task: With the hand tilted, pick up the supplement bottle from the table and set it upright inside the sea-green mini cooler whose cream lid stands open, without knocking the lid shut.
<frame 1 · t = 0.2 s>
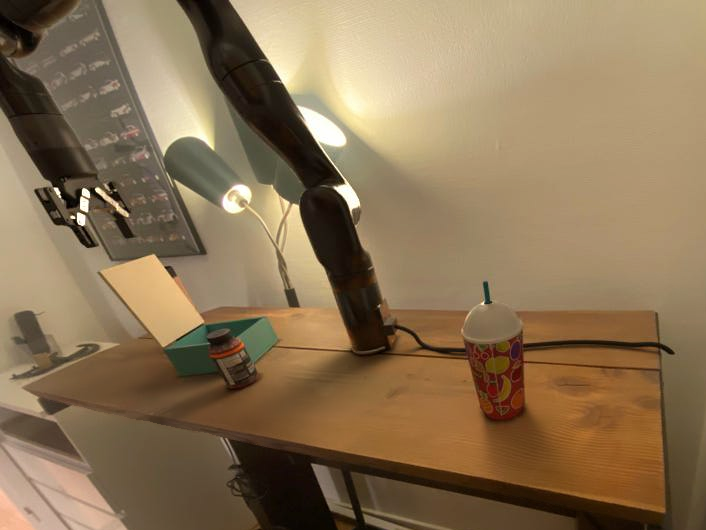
hand: (113, 242, 73), 29 cm above the table, tool pointing down, fingers open, 8 cm apart
cooler: (232, 357, 89), on the table
supplement bottle: (244, 382, 77), on the table
travel mug: (196, 342, 102), on the table
smoothie: (503, 409, 57), on the table
cooler lid: (149, 302, 83), point 16 cm above the table, hinge at 100.0°
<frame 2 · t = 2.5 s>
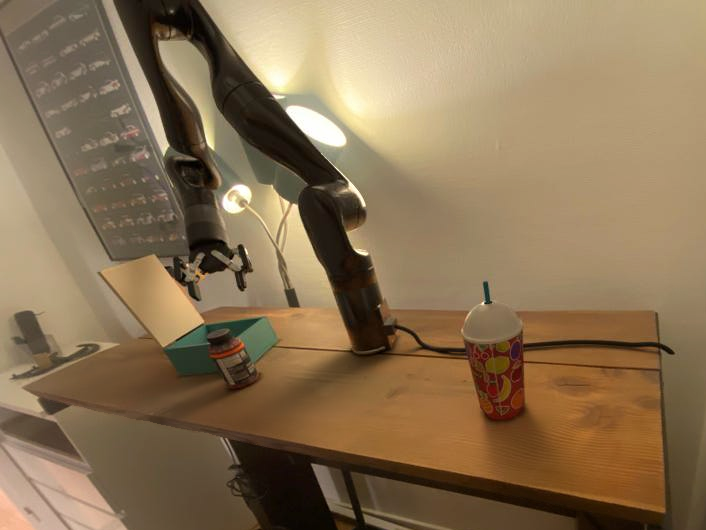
hand: (219, 294, 79), 16 cm above the table, tool tilted 45°, fingers open, 8 cm apart
nothing on the table moved.
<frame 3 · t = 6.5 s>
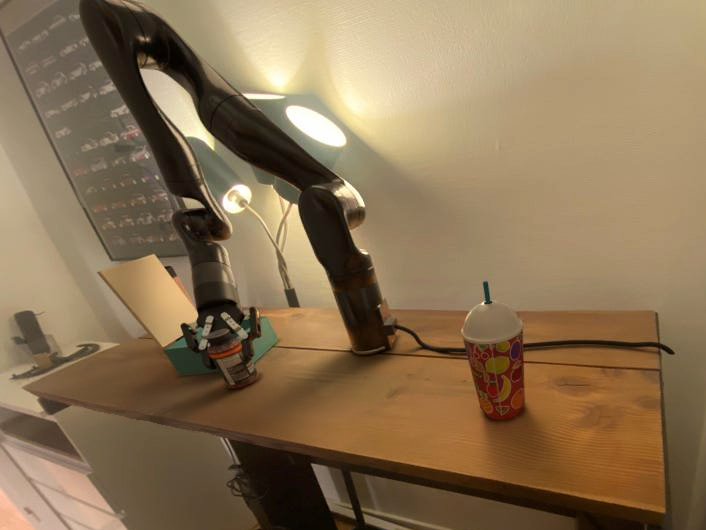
hand: (230, 363, 73), 5 cm above the table, tool tilted 45°, fingers closed on supplement bottle, 6 cm apart
supplement bottle: (244, 382, 77), on the table, touching gripper
everything else where it was.
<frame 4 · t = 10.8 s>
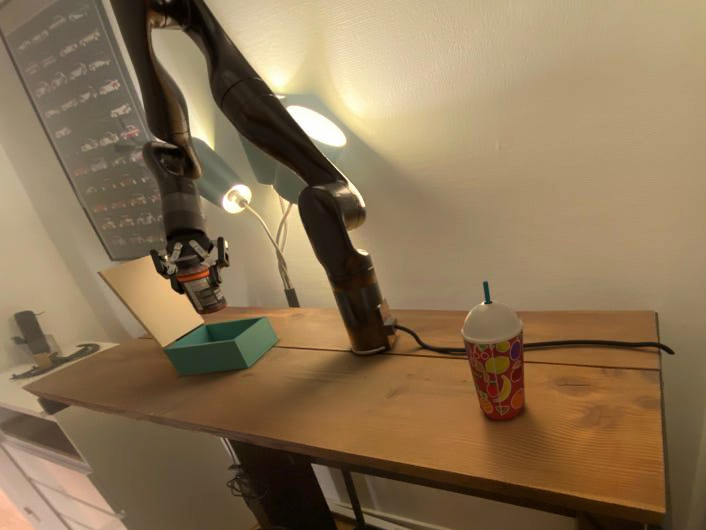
hand: (198, 288, 76), 18 cm above the table, tool tilted 45°, fingers closed on supplement bottle, 6 cm apart
supplement bottle: (213, 310, 80), point 13 cm above the table, touching gripper
everything else where it was.
when the fingers open (6 cm above the table, at t = 15.2 s): supplement bottle stays where it is, resting on cooler.
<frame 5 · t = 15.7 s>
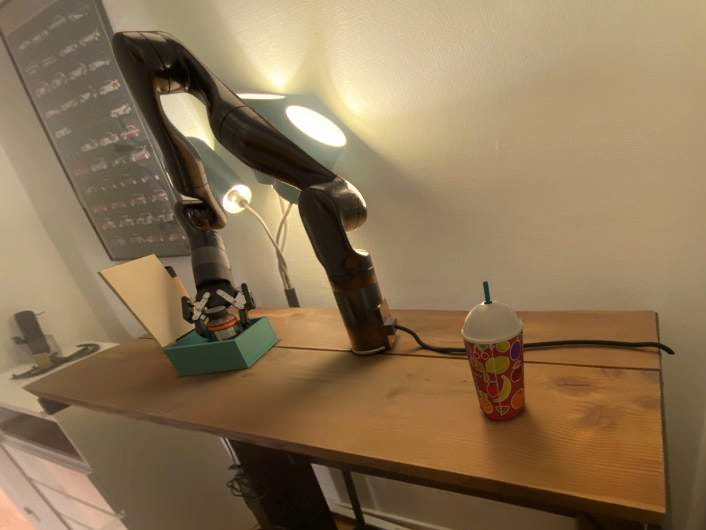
hand: (224, 331, 84), 7 cm above the table, tool tilted 45°, fingers open, 8 cm apart
supplement bottle: (238, 353, 89), point 1 cm above the table, touching cooler
everything else where it was.
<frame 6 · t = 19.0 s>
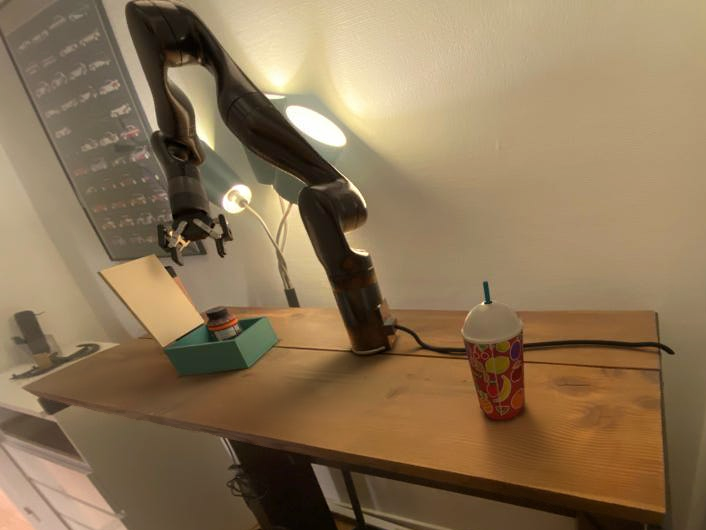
hand: (201, 260, 84), 22 cm above the table, tool tilted 45°, fingers open, 8 cm apart
nothing on the table moved.
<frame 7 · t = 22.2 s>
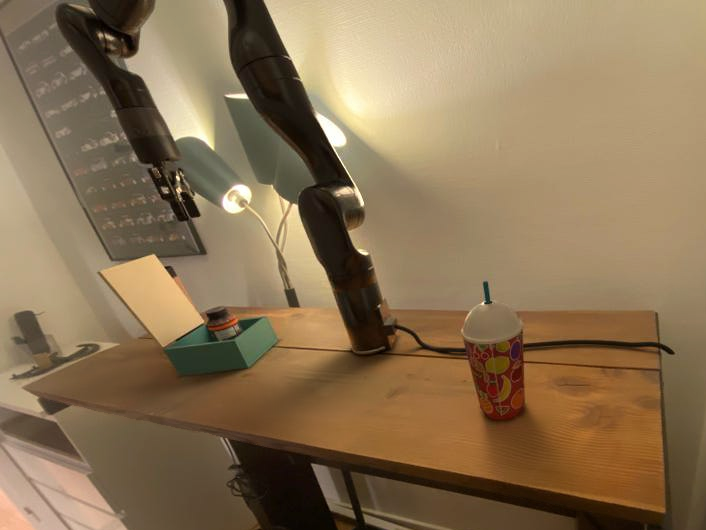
hand: (191, 219, 84), 30 cm above the table, tool pointing down, fingers open, 8 cm apart
nothing on the table moved.
at the end: cooler lid at +100° (first picture: +100°); supplement bottle inside the target area in the cooler (1.9 cm from its centre), point 0.6 cm above the cooler's base; supplement bottle tilted 0° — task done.
